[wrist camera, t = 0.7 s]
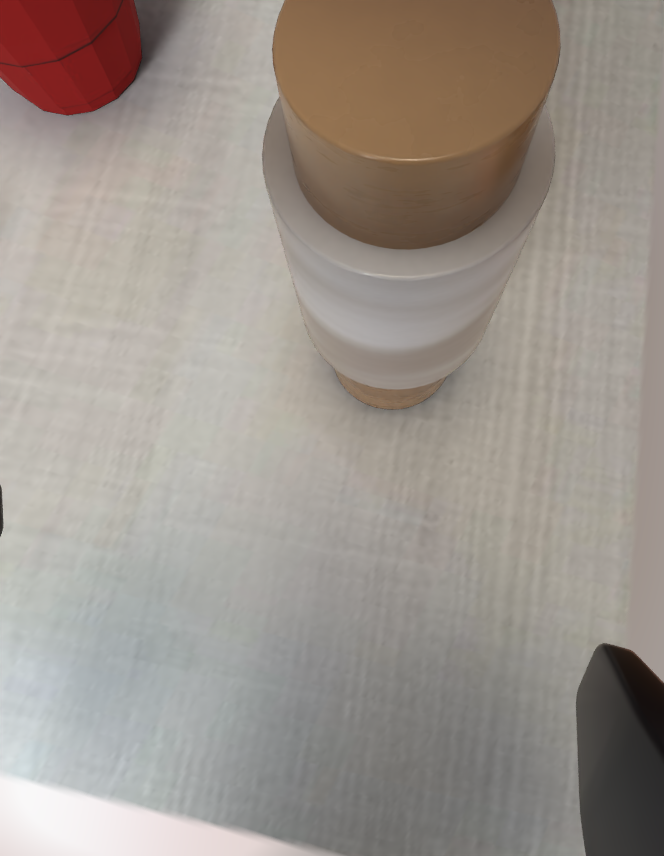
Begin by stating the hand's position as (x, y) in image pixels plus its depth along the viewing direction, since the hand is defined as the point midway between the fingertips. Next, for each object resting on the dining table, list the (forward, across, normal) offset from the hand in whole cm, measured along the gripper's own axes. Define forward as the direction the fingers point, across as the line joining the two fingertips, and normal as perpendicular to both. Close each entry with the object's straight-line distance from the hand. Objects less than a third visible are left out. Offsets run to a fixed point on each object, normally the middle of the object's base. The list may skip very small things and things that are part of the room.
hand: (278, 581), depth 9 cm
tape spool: (+15, 0, 0) cm, 15 cm away
